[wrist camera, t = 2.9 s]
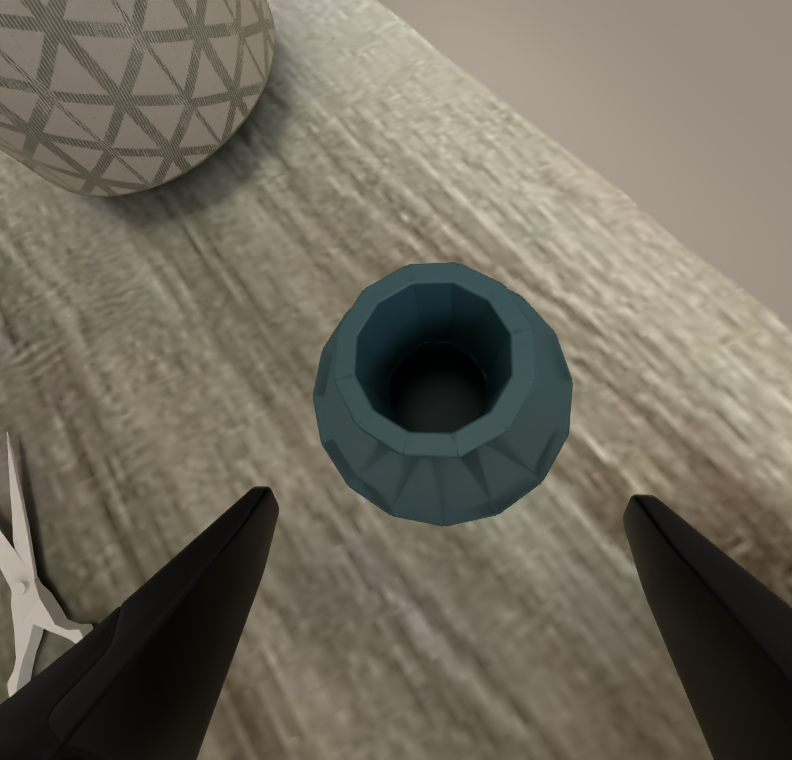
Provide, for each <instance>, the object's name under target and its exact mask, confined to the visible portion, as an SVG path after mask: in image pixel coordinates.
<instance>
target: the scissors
mask: <svg viewBox="0 0 792 760" xmlns="http://www.w3.org/2000/svg"><path fill="white" fill-rule="evenodd" d="M7 441H8V460H9V478H10V494H11V506H12V524H13V543H14V549H13V547H12V546H11V545H10V543H9V542H8V541H7V539H6V538H5V537H4V535H3V534H2V532H1V531H0V569H1V571H2V573H3V575H4V576H5V578H6V580H7V582H8V584H9V586H10V588H11V591H12V600H11V607H12V615H13V623H14V631H15V650H16V662H15V667H14V671H13V673H12V675H11V677H10V679H9V681H8V683H7V686H8V692H9V697H11V696H12V695H13V694H14V693H16V692H17V691H18V690H19V689H21V688H22V687H23V686H24V685H26V684H27V683H28V682H29V681H30V680H31V674H32V669H33V664H34V660H35V656H36V652H37V649H38V646H39V643H40V640H41V638H42V634H43V630H44V629H46V630H48V631H50V632H53V633H55V634H58V635H61V636H63V637H66V638H68V639H70V640H72V641H73V642H74V643H75V644H76V643H77V642H79V641H80V640H81V639H82V638H83V637H84V636H86V635H87V634H88V633H89V632H90V631H91V630H93V627H92V625H91V624H78V623H76V622H73V621H71V620H68V619H67V618H66V616H65V614H64V612H63V610H62V609H61V607H60V605H59V604H58V602H57V601H56V599H55V598H54V596H53V594H52V593H51V592H50V591H49V590H48V589H47V588H46V587H45V586H44V585H43V584H42V583H40V579H39V578H38V576H37V570H36V564H35V558H34V552H33V546H32V540H31V534H30V528H29V522H28V517H27V512H26V507H25V503H24V498H23V494H22V489H21V485H20V480H19V475H18V470H17V465H16V460H15V455H14V452H13V449H12V445H11V442H10V439H9V436H8V433H7Z"/></svg>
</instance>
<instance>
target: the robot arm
mask: <svg viewBox="0 0 792 760" xmlns="http://www.w3.org/2000/svg"><path fill="white" fill-rule="evenodd" d="M278 514H279V506H278V503H277V501H276V499H275V497H274V494H273V492H272V490H271V488H269V487H262V486H257V487H254V488H252V489H251V490H249V491H248V492H247V493H246V494H245V495H244V496H243V497H242V498H240V499H239V500H238V501H237V502H236V503H235V504H234V505H233V506H231V507H230V508H229V509H228V510H227V511H226V512H225V513H224V514H222V515H221V516H220V517H219V518H218V519H217V520H216V521H215V522H213V523H212V524H211V525H210V526H209V527H208V528H207V529H206V530H204V531H203V532H202V533H201V534H200V535H199V536H198V537H197V538H195V539H194V540H193V541H192V542H191V543H190V544H189V545H188V546H186V547H185V548H184V549H183V550H182V551H181V552H180V553H179V554H177V555H176V556H175V557H174V558H173V559H172V560H171V561H170V562H168V563H167V564H166V565H165V566H164V567H163V568H162V569H161V570H159V571H158V572H157V573H156V574H155V575H154V576H153V577H152V578H150V579H149V580H148V581H147V582H146V583H145V584H144V585H143V586H141V587H140V588H139V589H138V590H137V591H136V592H135V593H133V594H132V595H131V596H130V597H129V598H128V599H127V600H126V601H124V602H123V603H122V605H121V606H120V607H118V608H116V609H115V610H114V611H113V612H112V613H111V614H110V615H109V616H107V617H106V618H105V619H104V620H103V621H102V622H101V623H100V624H98V625H97V626H96V627H95V628H94V629H93V630H91V631H90V632H89V633H88V634H87V635H86V636H84V637H83V638H82V639H81V640H80V641H79V642H77V643H76V644H75V645H74V646H73V647H72V648H70V649H69V650H68V651H67V652H65V653H64V654H63V655H62V656H60V657H59V658H58V659H57V660H56V661H54V662H53V663H52V664H51V665H49V666H48V667H47V668H46V669H45V670H43V671H42V672H41V673H40V674H38V675H37V676H36V677H35V678H33V679H32V680H31V681H29V682H28V683H27V684H26V685H24V686H23V687H22V688H21V689H19V690H18V691H17V692H16V693H14V694H13V695H12V696H11V697H9V698H8V699H7V700H6V701H4V702H3V703H2V704H1V705H0V760H196V759H197V756H198V754H199V751H200V748H201V745H202V742H203V740H204V737H205V734H206V731H207V729H208V726H209V723H210V720H211V717H212V715H213V712H214V709H215V706H216V703H217V701H218V698H219V695H220V692H221V690H222V687H223V684H224V681H225V678H226V676H227V673H228V670H229V667H230V665H231V662H232V659H233V656H234V653H235V651H236V648H237V645H238V642H239V640H240V637H241V634H242V631H243V628H244V626H245V623H246V620H247V617H248V614H249V612H250V609H251V606H252V603H253V601H254V598H255V595H256V592H257V589H258V587H259V584H260V581H261V578H262V575H263V572H264V569H265V565H266V562H267V558H268V554H269V550H270V546H271V542H272V538H273V534H274V530H275V526H276V522H277V518H278ZM623 525H624V529H625V532H626V535H627V538H628V542H629V545H630V548H631V552H632V555H633V558H634V562H635V565H636V568H637V572H638V575H639V578H640V581H641V584H642V587H643V590H644V593H645V596H646V598H647V601H648V604H649V606H650V608H651V611H652V613H653V615H654V618H655V620H656V623H657V625H658V627H659V630H660V632H661V635H662V637H663V639H664V642H665V644H666V646H667V649H668V651H669V654H670V656H671V658H672V661H673V663H674V666H675V668H676V670H677V673H678V675H679V677H680V680H681V682H682V685H683V687H684V689H685V692H686V694H687V697H688V699H689V701H690V704H691V706H692V708H693V711H694V713H695V716H696V718H697V720H698V723H699V725H700V727H701V730H702V732H703V735H704V737H705V739H706V742H707V744H708V747H709V749H710V751H711V754H712V756H713V758H714V760H792V607H791V606H790V605H788V604H787V603H786V602H785V601H784V600H782V599H781V598H780V597H779V596H777V595H776V594H775V593H774V592H772V591H771V590H770V589H769V588H768V587H766V586H765V585H764V584H763V583H761V582H760V581H759V580H758V579H756V578H755V577H754V576H753V575H752V574H750V573H749V572H748V571H747V570H745V569H744V568H743V567H742V566H740V565H739V564H738V563H737V562H735V561H734V560H733V559H732V558H731V557H729V556H728V555H727V554H726V553H724V552H723V551H722V550H721V549H719V548H718V547H717V546H716V545H715V544H713V543H712V542H711V541H710V540H708V539H707V538H706V537H705V536H703V535H702V534H701V533H700V532H699V531H697V530H696V529H695V528H694V527H692V526H691V525H690V524H689V523H687V522H686V521H685V520H684V519H683V518H681V517H680V516H679V515H678V514H676V513H675V512H674V511H673V510H671V509H670V508H669V507H668V506H666V505H665V504H664V503H663V502H662V501H660V500H659V499H658V498H656V497H655V496H653V495H639V494H636V495H633V496H632V497H631V498H630V501H629V503H628V505H627V508H626V510H625V512H624V515H623Z"/></svg>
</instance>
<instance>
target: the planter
mask: <svg viewBox="0 0 792 760" xmlns="http://www.w3.org/2000/svg"><path fill="white" fill-rule="evenodd" d="M274 53H275V28H274V23H273V18H272V14H271V11H270V8H269V5H268V3H267V0H0V149H1V150H3V151H4V152H5V153H7V154H8V155H10V156H11V157H13V158H14V159H16V160H17V161H19V162H20V163H22V164H23V165H25V166H26V167H28V168H29V169H31V170H32V171H34V172H35V173H37V174H38V175H40V176H41V177H43V178H44V179H46V180H47V181H49V182H50V183H52V184H54V185H55V186H58V187H60V188H62V189H64V190H67V191H70V192H73V193H77V194H81V195H87V196H97V197H112V196H122V195H129V194H133V193H138V192H142V191H145V190H148V189H152V188H155V187H158V186H160V185H162V184H165V183H167V182H169V181H172V180H174V179H175V178H177V177H179V176H181V175H183V174H185V173H187V172H188V171H190V170H191V169H193V168H195V167H196V166H198V165H199V164H201V163H202V162H203V161H205V160H206V159H207V158H209V157H210V156H211V155H213V154H214V153H215V152H216V151H217V150H218V149H220V148H221V147H222V146H223V145H224V144H225V143H226V142H227V141H228V140H229V139H230V138H231V137H232V136H233V135H234V134H235V132H236V131H237V130H238V129H239V128H240V127H241V125H242V124H243V123H244V121H245V120H246V119H247V117H248V116H249V115H250V113H251V112H252V110H253V108H254V107H255V105H256V104H257V102H258V100H259V98H260V96H261V94H262V92H263V90H264V88H265V86H266V83H267V80H268V78H269V75H270V71H271V68H272V64H273V59H274Z"/></svg>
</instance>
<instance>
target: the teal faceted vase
mask: <svg viewBox="0 0 792 760" xmlns="http://www.w3.org/2000/svg"><path fill="white" fill-rule="evenodd" d="M554 333H555V332H554V331H553V330H552V329H551V327H550V326H549V325H548V324H547V323H546V322H545V321H544V320H543V319H542V318H541V317H540V315H539V314H538V313H537V312H536V311H535V310H534V309H533V308H532V307H531V306H530V305H529V303H528V302H527V301H526V300H525V299H524V298H523V297H521V296H520V295H519V294H517V293H515V292H513V291H511V290H508V289H507V287H506V286H503V284H502V283H500V282H498V281H496V280H494V279H492V278H490V277H488V276H486V275H484V274H481V273H479V272H477V271H475V270H473V269H471V268H469V267H467V266H465V265H463V264H460V263H458V264H457V263H456V262H453V263H430V264H409V265H408V266H407V265H406V266H404V267H402V268H400V269H398V270H397V271H395V272H393V273H391V274H390V275H388V276H386V277H384V278H383V279H381V280H379V281H377V282H376V283H374V284H372V285H370V286H368V287H367V288H365V290H363V291H362V293H361V294H360V296H359V297H358V299H357V300H356V302H355V303H354V305H353V307H352V308H351V309H349V310H348V312H346V314H345V315H344V317H343V318H342V320H341V322H340V323H339V325H338V326H337V328H336V329H335V331H334V332H333V334H332V336H331V337H330V339H329V340H328V342H327V343H326V345H325V346H324V348H323V351H322V353H321V358H320V363H319V368H318V373H317V378H316V382H315V387H314V392H313V401H314V406H315V412H316V418H317V423H318V429H319V434H320V440H321V443H322V446H323V447H324V449H325V450H326V452H327V454H328V455H329V457H330V458H331V460H332V461H333V463H334V465H335V466H336V468H337V469H338V471H339V472H340V474H341V476H342V477H343V479H344V480H345V482H346V483H347V485H349V487H350V488H352V489H353V490H355V491H356V492H357V493H359V494H360V495H362V496H363V497H365V498H366V499H368V500H369V501H370V502H372V503H373V504H375V505H376V506H378V507H379V508H381V509H382V510H384V511H385V512H386V513H388V514H389V515H392V516H394V517H399V518H404V519H409V520H414V521H419V522H424V523H429V524H434V525H439V526H444V525H445V526H450V525H454V524H459V523H463V522H468V521H473V520H477V519H482V518H486V517H491V516H496V515H497V514H500V513H501V512H503V511H504V510H506V509H507V508H508V507H510V506H511V505H512V504H514V503H515V502H516V501H518V500H519V499H520V498H522V497H523V496H524V495H526V494H527V493H528V492H530V491H531V490H533V489H534V488H535V487H537V486H538V485H539V484H541V482H542V481H543V480H544V479H545V477H546V475H547V473H548V471H549V469H550V468H551V466H552V464H553V462H554V460H555V459H556V457H557V455H558V453H559V451H560V450H561V448H562V446H563V444H564V442H565V441H566V439H567V437H568V433H569V425H570V412H571V399H572V386H573V383H572V378H571V375H570V372H569V369H568V367H567V364H566V361H565V358H564V355H563V353H562V350H561V347H560V344H559V341H558V338H557V336H556V334H554Z"/></svg>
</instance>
